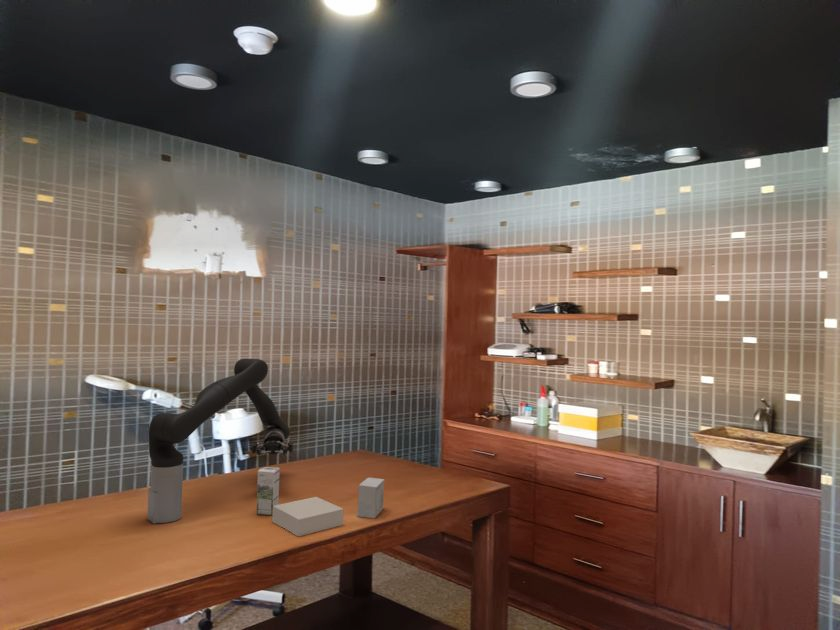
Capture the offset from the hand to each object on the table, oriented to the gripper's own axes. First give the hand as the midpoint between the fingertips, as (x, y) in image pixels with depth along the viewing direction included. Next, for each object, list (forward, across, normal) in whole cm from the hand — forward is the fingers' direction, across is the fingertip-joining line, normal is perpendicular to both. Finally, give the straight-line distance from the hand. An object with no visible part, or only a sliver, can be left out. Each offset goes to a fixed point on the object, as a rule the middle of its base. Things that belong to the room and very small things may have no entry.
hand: (271, 452), depth 201 cm
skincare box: (+15, +34, +18) cm, 41 cm away
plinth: (+23, +13, +17) cm, 32 cm away
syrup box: (+12, 0, +18) cm, 21 cm away
